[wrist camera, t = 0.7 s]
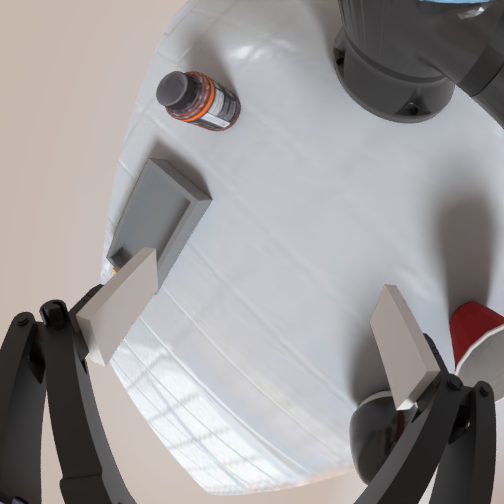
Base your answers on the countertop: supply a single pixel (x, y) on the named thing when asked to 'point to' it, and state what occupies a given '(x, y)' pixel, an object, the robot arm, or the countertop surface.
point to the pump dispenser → (376, 433)
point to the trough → (158, 217)
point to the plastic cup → (479, 346)
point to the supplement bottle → (198, 100)
